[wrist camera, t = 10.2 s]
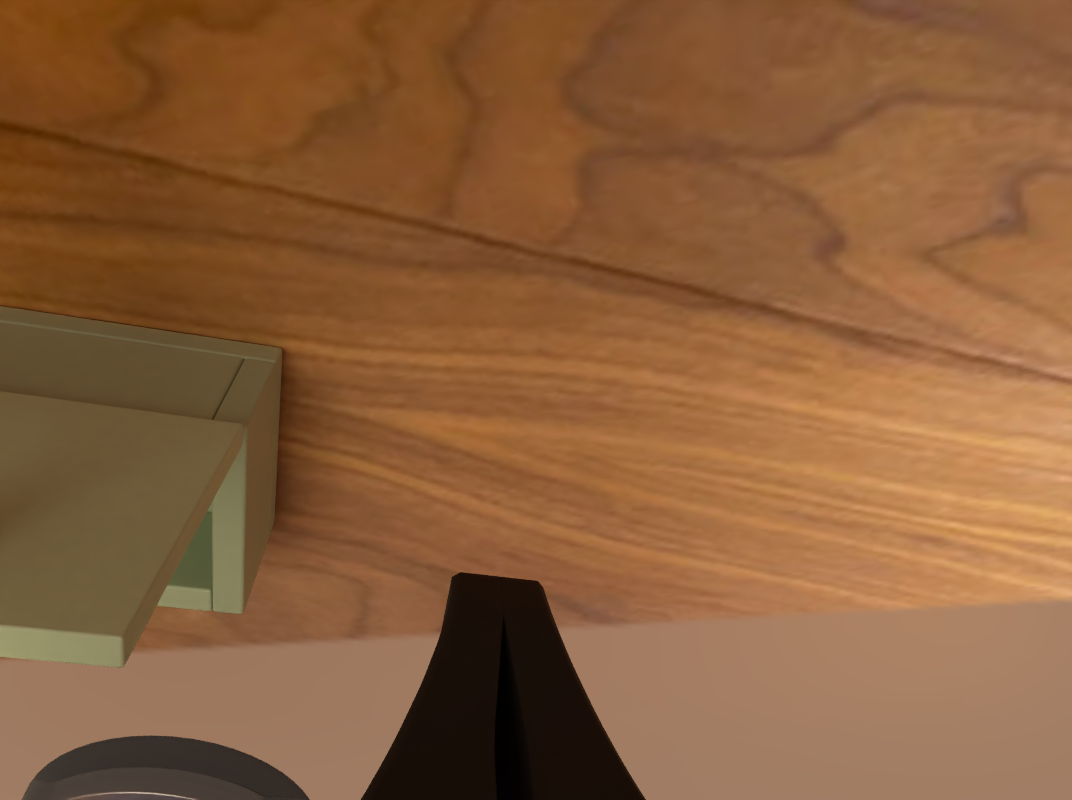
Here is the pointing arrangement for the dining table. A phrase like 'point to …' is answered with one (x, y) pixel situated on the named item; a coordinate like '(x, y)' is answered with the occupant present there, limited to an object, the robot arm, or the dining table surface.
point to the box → (179, 389)
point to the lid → (97, 520)
